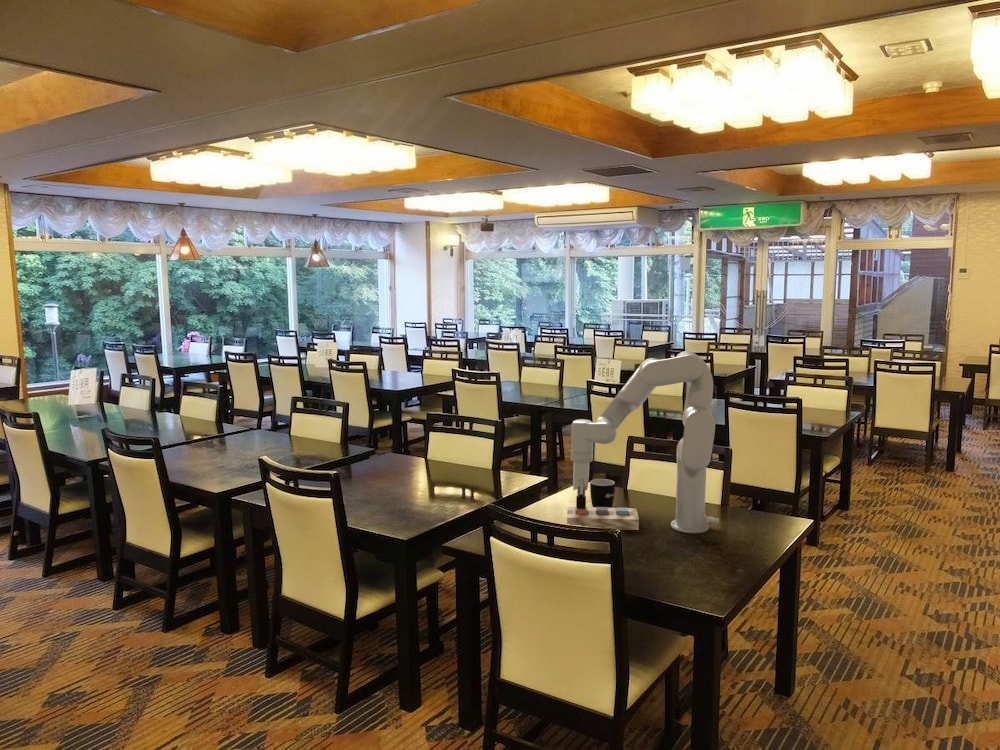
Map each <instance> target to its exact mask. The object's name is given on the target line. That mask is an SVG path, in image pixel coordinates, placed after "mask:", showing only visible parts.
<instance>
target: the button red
mask: <svg viewBox="0 0 1000 750" xmlns="http://www.w3.org/2000/svg"><path fill="white" fill-rule="evenodd" d="M587 507H588V506H586V508H577V514H587Z"/></svg>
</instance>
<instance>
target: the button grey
mask: <svg viewBox="0 0 1000 750" xmlns="http://www.w3.org/2000/svg"><path fill="white" fill-rule="evenodd" d="M597 515H608V508H607V507H597Z"/></svg>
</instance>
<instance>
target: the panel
mask: <svg viewBox="0 0 1000 750" xmlns="http://www.w3.org/2000/svg"><path fill="white" fill-rule="evenodd" d="M586 507H587V514H577V508H576V506H567V511H566V525H567V524H570V525H581V526H589V527H601V528H612V529H619V530H618V531H620V530H621V531H622V529H623V530H640V517H639V514H638V509H637V508H632V507H627V508H628V511H629V512H628V516H624V515H617V507H612V508H608V515H597V507H593V506H586ZM622 532H623V531H622Z"/></svg>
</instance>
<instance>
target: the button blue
mask: <svg viewBox="0 0 1000 750" xmlns="http://www.w3.org/2000/svg"><path fill="white" fill-rule="evenodd" d="M616 508H617V515H624V516H628V512H629V511H628V508H629V507H616Z"/></svg>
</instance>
